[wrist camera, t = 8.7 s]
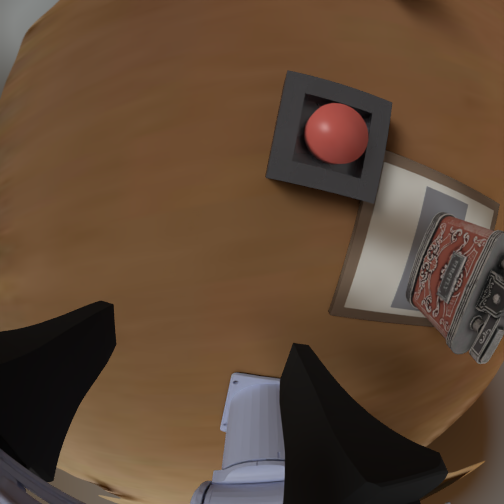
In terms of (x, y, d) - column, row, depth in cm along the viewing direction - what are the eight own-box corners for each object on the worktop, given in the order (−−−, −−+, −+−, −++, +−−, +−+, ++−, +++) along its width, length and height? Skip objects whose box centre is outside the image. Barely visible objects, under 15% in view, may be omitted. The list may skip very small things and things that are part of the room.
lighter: (432, 205, 17) (526, 235, 8) (460, 219, 17) (547, 253, 8) (397, 300, 20) (460, 377, 10) (426, 307, 20) (489, 377, 10)
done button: (353, 170, 16) (362, 170, 14) (298, 156, 16) (302, 154, 14) (363, 118, 15) (372, 113, 13) (309, 102, 15) (314, 95, 13)
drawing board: (455, 325, 21) (459, 329, 20) (328, 311, 21) (330, 316, 20) (495, 203, 17) (501, 204, 17) (371, 146, 17) (375, 145, 16)
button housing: (360, 199, 18) (374, 203, 16) (265, 176, 18) (265, 177, 16) (377, 109, 16) (392, 102, 14) (284, 82, 16) (287, 70, 14)
